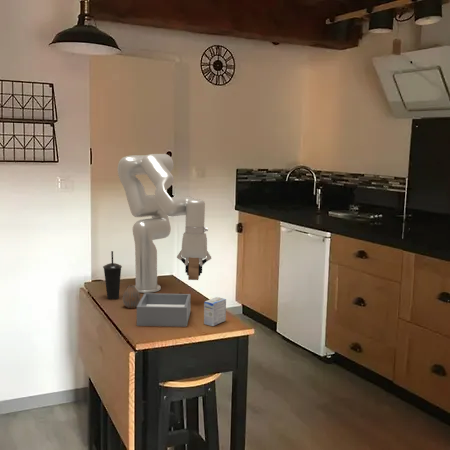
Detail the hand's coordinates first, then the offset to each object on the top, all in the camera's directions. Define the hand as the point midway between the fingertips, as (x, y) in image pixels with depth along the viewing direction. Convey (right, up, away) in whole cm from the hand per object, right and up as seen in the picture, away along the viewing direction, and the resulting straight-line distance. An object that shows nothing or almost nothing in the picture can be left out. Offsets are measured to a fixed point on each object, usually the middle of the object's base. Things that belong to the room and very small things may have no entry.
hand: (193, 274), depth 228 cm
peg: (0, -2, 0) cm, 2 cm away
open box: (-10, -15, -16) cm, 24 cm away
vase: (-25, -13, -2) cm, 28 cm away
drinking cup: (-35, -11, +10) cm, 38 cm away
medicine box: (+9, -16, -20) cm, 28 cm away
